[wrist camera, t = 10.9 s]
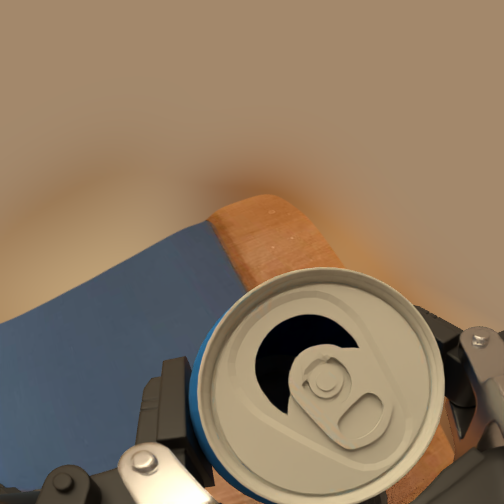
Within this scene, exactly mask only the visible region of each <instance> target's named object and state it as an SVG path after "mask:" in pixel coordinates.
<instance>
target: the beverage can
mask: <svg viewBox="0 0 504 504" xmlns="http://www.w3.org/2000/svg"><path fill="white" fill-rule="evenodd" d="M444 395H445V377H444V368H443V362H442V358H441V354H440V350H439V348H438V345H437V342H436V340H435V337H434V335H433V333H432V331H431V330H430V328H429V326H428V324H427V323H426V321H425V320H424V318H423V317H422V315H421V314H420V313H419V312H418V310H417V309H416V308H415V307H414V306H413V305H412V304H411V303H410V302H409V301H408V300H407V299H406V298H405V297H404V296H403V295H401V294H400V293H399V292H397V291H396V290H395V289H393V288H392V287H390V286H389V285H387V284H385V283H383V282H382V281H380V280H378V279H376V278H373V277H371V276H368V275H366V274H363V273H359V272H356V271H352V270H348V269H341V268H329V267H317V268H306V269H301V270H296V271H291V272H288V273H285V274H282V275H279V276H276V277H274V278H272V279H270V280H268V281H266V282H264V283H262V284H260V285H259V286H257V287H256V288H254V289H252V290H251V291H249V292H248V293H247V294H246V295H244V296H243V297H242V298H241V299H240V300H238V301H237V302H236V303H235V304H234V305H233V306H232V307H231V308H229V309H228V310H227V311H226V312H225V313H224V314H223V315H222V316H221V317H220V319H219V320H218V321H217V322H216V323H215V324H214V326H213V327H212V329H211V330H210V331H209V333H208V334H207V336H206V338H205V340H204V341H203V343H202V345H201V347H200V349H199V351H198V354H197V357H196V359H195V362H194V365H193V369H192V373H191V378H190V385H189V411H190V417H191V422H192V426H193V430H194V433H195V436H196V438H197V441H198V444H199V446H200V448H201V449H202V451H203V453H204V455H205V456H206V458H207V460H208V461H209V462H210V464H211V465H212V466H213V468H214V469H215V470H216V471H217V473H218V474H219V475H221V476H222V477H223V478H224V479H225V480H226V481H227V482H228V483H229V484H230V485H232V486H233V487H234V488H236V489H237V490H239V491H240V492H242V493H243V494H245V495H247V496H249V497H251V498H253V499H255V500H257V501H259V502H262V503H265V504H358V503H361V502H363V501H365V500H368V499H370V498H372V497H375V496H377V495H378V494H380V493H382V492H383V491H385V490H387V489H388V488H390V487H391V486H393V485H394V484H395V483H396V482H398V481H399V480H400V479H401V478H403V477H404V476H405V475H406V474H407V473H408V472H409V471H410V470H411V469H412V468H413V467H414V466H415V464H416V463H417V462H418V460H419V459H420V458H421V456H422V455H423V454H424V452H425V451H426V449H427V447H428V446H429V444H430V442H431V440H432V438H433V436H434V434H435V431H436V429H437V426H438V424H439V420H440V417H441V413H442V409H443V402H444Z"/></svg>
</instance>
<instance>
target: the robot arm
mask: <svg viewBox="0 0 504 504" xmlns="http://www.w3.org/2000/svg"><path fill="white" fill-rule="evenodd" d="M413 306H414V307H415V308H416V309H417V310H418V312H419V313H420V314H421V315H422V317H423V318H424V320H425V321H426V323H427V324H428V326H429V328H430V330H431V331H432V333H433V335H434V337H435V340H436V342H437V345H438V348H439V350H440V354H441V358H442V362H443V368H444V377H445V395H444V396H446V397H447V399H446V403H445V408H446V411H447V416H448V420H449V424H450V428H451V432H452V436H453V441H454V445H455V455H454V460H453V463H452V464H451V465H449V466H448V467H446V468H445V469H444V470H443V471H442V472H441V473H440V474H439V475H438V476H437V477H436V478H435V479H434V480H433V482H432V483H431V484H430V485H429V486H428V487H427V488H426V489H425V490H424V491H423V492H422V493H421V494H420V495H419V496H418V497H417V498H416V499H415V500H413V501H412V502H411V503H409V504H504V331H501V332H499V333H497V332H495V331H494V330H492V329H490V328H487V327H480V326H479V327H471V328H468V329H466V330H465V331H463V330H461V329H460V328H458V327H456V326H454V325H452V324H451V323H449V322H447V321H445V320H443V319H442V318H440V317H439V318H438V317H437V316H436V315H434V314H432V313H429V311H427V310H425V309H423V308H421V307H420V306H415V305H413ZM191 373H192V370H191V367H190V365H189V362H188V360H187V358H186V356H184V357H179V358H175V359H170V360H165V361H163V366H162V374H161V377H156V378H151V380H150V381H149V382H148V384H147V385H146V387H145V388H144V391H143V396H142V402H141V408H140V410H141V412H140V415H139V421H138V428H137V435H136V442H135V446H133V447H131V448H130V449H128V450H127V451H126V452H125V453H124V454H123V455H122V456H121V458H120V460H119V463H118V467H117V468H115V469H112V470H109V471H106V472H102V473H99V474H95V475H91V476H89V475H88V474H87V473H86V472H85V471H84V470H83V469H82V468H81V467H78V466H75V465H64V466H60V467H58V468H56V469H54V470H53V471H52V472H51V473H50V474H49V475H48V476H47V478H46V479H45V482H44V484H43V486H42V489H38V490H33V491H30V492H21V491H19V490H18V489H16V488H15V487H12V488H5V487H4V486H3V485H2V484H0V504H222V503H218V502H217V501H216V500H215V499H214V498H213V497H212V496H211V495H210V494H209V493H208V492H207V491H206V490H205V487H211V486H215V483H214V477H213V470H212V465H211V464H210V462H209V461H208V460H207V458H206V456H205V455H204V453H203V451H202V449H201V448H200V446H199V444H198V441H197V438H196V436H195V433H194V430H193V426H192V422H191V417H190V411H189V385H190V378H191Z"/></svg>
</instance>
